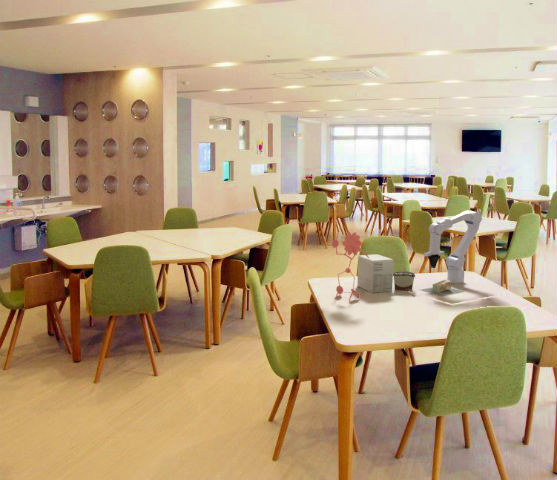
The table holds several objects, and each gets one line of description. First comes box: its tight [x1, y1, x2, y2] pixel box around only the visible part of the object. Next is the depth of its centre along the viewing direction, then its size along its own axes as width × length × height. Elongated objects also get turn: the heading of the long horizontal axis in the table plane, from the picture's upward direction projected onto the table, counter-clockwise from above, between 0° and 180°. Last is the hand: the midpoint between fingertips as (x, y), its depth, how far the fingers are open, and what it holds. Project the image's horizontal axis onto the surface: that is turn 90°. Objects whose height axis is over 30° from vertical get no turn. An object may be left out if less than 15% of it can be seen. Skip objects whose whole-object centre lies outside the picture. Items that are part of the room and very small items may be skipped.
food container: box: [393, 270, 416, 292], centre depth 331 cm, size 12×6×10 cm, turn 84°
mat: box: [420, 286, 465, 297], centre depth 326 cm, size 18×16×2 cm
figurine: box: [331, 231, 369, 304], centre depth 312 cm, size 15×26×35 cm, turn 43°
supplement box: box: [356, 253, 394, 294], centre depth 332 cm, size 17×13×18 cm
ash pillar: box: [432, 279, 452, 293], centre depth 325 cm, size 4×4×10 cm
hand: (433, 267), depth 340 cm, fingers closed
